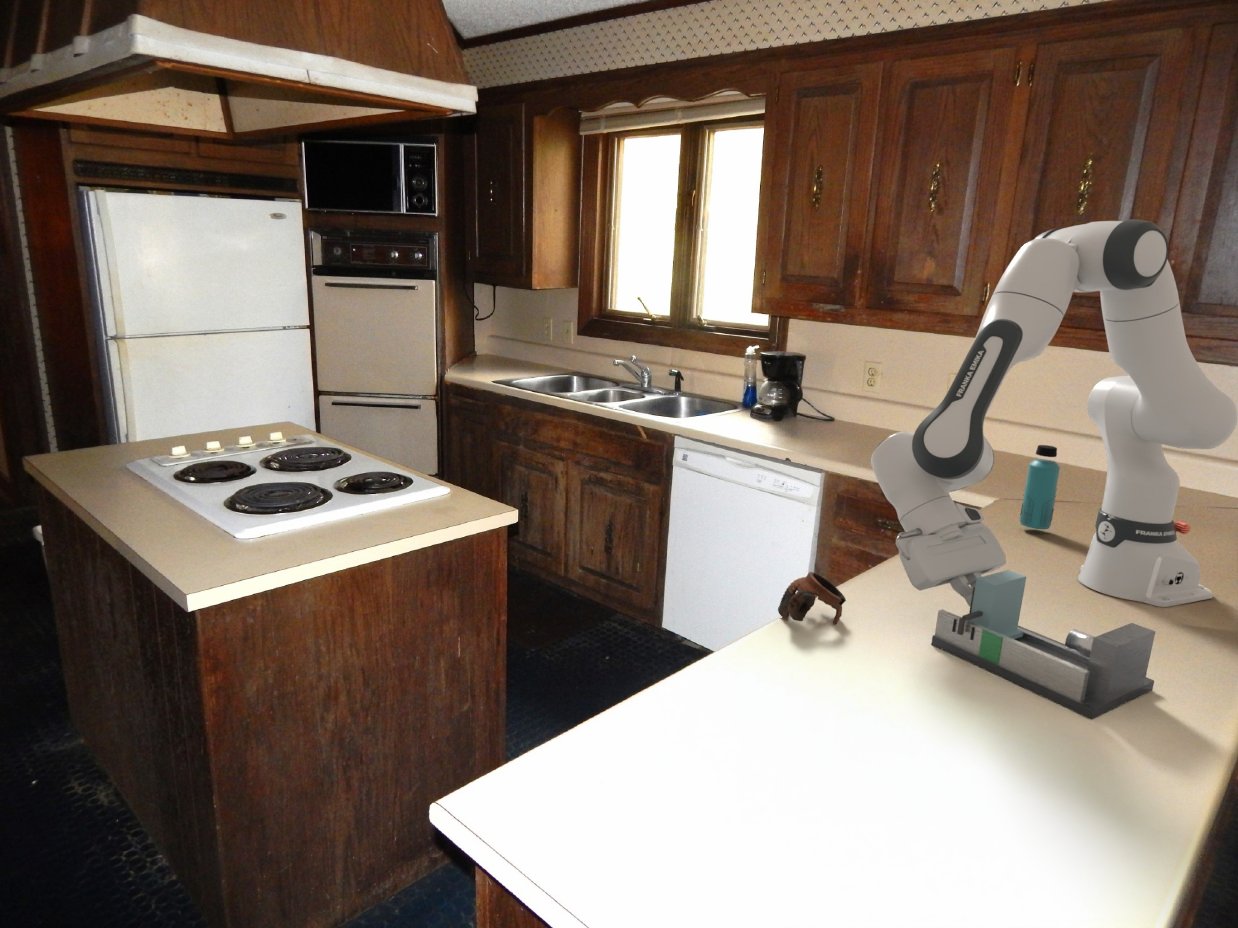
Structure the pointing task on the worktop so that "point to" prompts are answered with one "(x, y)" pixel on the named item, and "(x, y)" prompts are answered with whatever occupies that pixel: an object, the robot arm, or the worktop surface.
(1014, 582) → the gauge slider
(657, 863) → the worktop surface
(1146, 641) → the frame
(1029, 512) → the beverage bottle
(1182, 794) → the worktop surface
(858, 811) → the worktop surface
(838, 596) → the brown hollow ring part
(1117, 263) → the robot arm
